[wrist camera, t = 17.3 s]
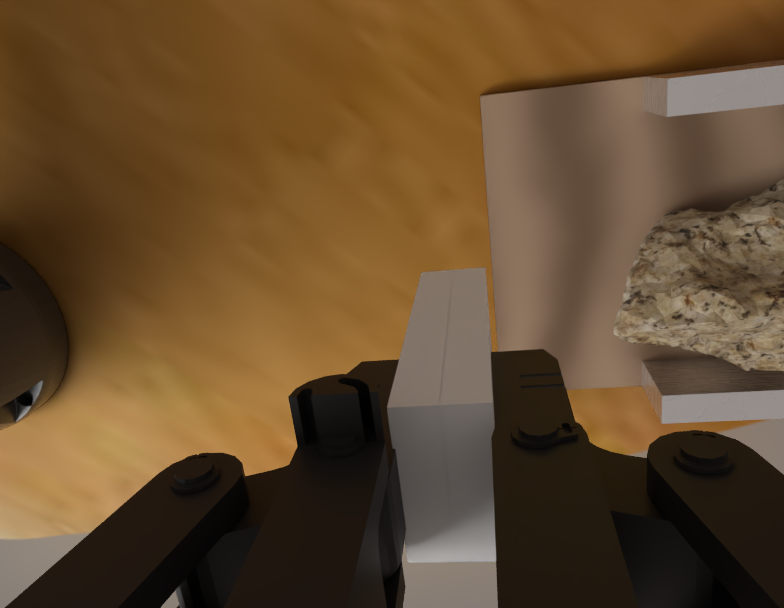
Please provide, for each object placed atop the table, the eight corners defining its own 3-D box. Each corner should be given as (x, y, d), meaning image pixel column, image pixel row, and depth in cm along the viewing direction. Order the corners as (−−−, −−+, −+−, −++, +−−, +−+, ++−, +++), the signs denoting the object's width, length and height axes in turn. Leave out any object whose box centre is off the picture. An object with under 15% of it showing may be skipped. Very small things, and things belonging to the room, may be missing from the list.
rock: (841, 421, 36) (942, 308, 28) (599, 400, 38) (630, 289, 30) (801, 268, 42) (873, 142, 34) (596, 258, 44) (620, 137, 37)
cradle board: (500, 384, 45) (501, 393, 44) (479, 95, 39) (479, 96, 38) (851, 366, 42) (861, 374, 41) (890, 46, 36) (903, 46, 34)
